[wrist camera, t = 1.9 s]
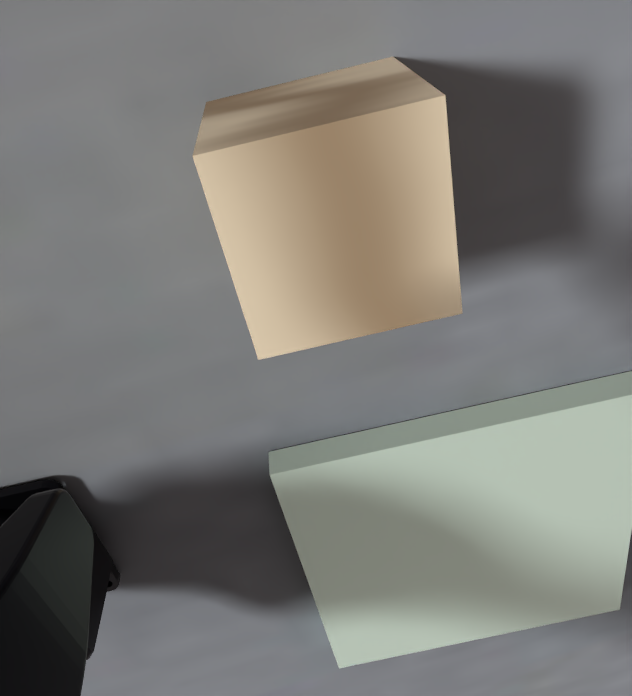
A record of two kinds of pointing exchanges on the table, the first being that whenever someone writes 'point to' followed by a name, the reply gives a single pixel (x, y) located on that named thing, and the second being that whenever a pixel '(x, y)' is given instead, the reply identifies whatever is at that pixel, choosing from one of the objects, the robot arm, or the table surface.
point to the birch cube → (333, 204)
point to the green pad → (465, 520)
